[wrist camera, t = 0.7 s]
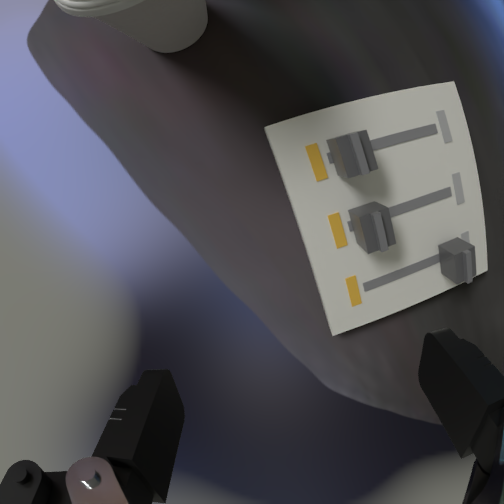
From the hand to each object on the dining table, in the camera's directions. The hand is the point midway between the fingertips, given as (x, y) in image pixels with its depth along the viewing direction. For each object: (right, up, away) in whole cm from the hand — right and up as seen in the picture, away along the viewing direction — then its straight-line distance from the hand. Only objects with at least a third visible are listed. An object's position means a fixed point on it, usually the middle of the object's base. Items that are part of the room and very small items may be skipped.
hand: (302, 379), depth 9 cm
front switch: (+6, +12, +15) cm, 20 cm away
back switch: (+18, +4, +17) cm, 25 cm away
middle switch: (+8, +6, +16) cm, 19 cm away
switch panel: (+12, +8, +18) cm, 23 cm away
